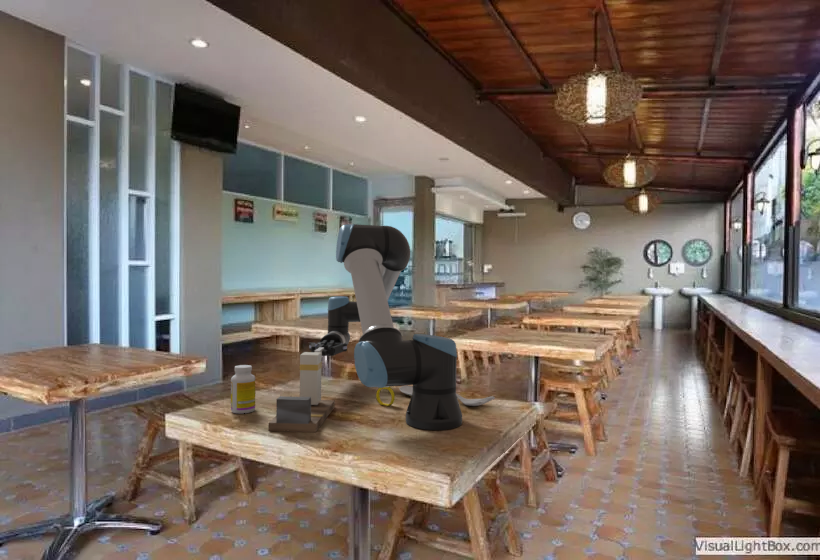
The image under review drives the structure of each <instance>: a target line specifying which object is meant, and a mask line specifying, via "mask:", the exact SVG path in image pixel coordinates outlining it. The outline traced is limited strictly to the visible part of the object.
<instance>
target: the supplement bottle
mask: <svg viewBox="0 0 820 560" xmlns="http://www.w3.org/2000/svg"><path fill="white" fill-rule="evenodd" d="M252 371H253V367H252V365H250V364H249V365H248V364H239V365H235V366H234V375H232V377H230V411H231V412H232V413H233V414H237V415H239V414H240V415H241V414H243V415H244V413H245V414H250V413H253V412H254V411H255V410H256V376H255V375H254V374H252Z"/></svg>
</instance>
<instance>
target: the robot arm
mask: <svg viewBox="0 0 820 560" xmlns="http://www.w3.org/2000/svg"><path fill="white" fill-rule="evenodd" d="M336 240H337V241H336V249H335V260H336V261H337V262H338V263H340V264H343V266H344V268H345V270H346V271H347V273H349V274H350V276H351V280H352V285H353V291H354V296H355V301H350V298H349V297H348V296H341V295H339V296H337V295H336V296H330V297H329V298H328V303H327V304H328V305H327V334H325V335H324V336H322V338H321V339H320V341H319V342H312V341H311V342H309V344H308V345H309V346H308V348H309V352H322V358H324V357H327V356H329V357H331V356H332V357H333V356H336V355H338V354H341V353H343V352H347V351H348V345H349V342H350V341H351V335H350V333H349V326H350V325H349V323H360V326H361V331H362V335H360V337H359V338H358V342H357V343H355V346H354V349H353V359H354V367H355V372H356V374H357V377H358V379H359V381H360V382H361V384H362V385H364V386H365V387H367V388H378V389H379V388H383V387H389V386H390V387H402V386H413V393H412V396H410V400H409V402H408V405H407V409H406V412H405V423H406V424H407V425H408V426H409V427H412V428H416V429H420V430H429V431H444V430H445V431H446V430H451V429H456V428H458V427H461V426H462V424H463V412H462V409H461V405H460V402H459V399H458V398H457V396H456V394H457V358H458V354H457V353H458V351H457V343H456V341H455V340H453V338H449V337H444V336H440V335H439V336H438V335H431V334H424V333H423V334H422V333H414V334H413V336H412V339H411V340H410V339H409V340H407V339H405V340H404V339H403V336H402V332H401V331H400V330H399V329H398V328H396V327H395V326H394V323H393V319H392V318H393V317H392V314H391V310H390V307H389V298H390V297H391V295H392V294H391V293H392V292H393V290H394V288H395V285H396V283H397V281H398V278H399V276H400V274H401V272H402V271H403V270H405V269H406V268H407V266H408V265H409V262H410V258H411V246H410V243H409V241H408V239H407V237H406V235H405V234H404V233H403V232H402V231H401V230H400V229H397V228H396V227H394V226H392V225H373V224H372V225H371V224H358V223H357V224H355V223H352V224H351V223H350V224H343V225H341V227H339V230H338V234H337V239H336Z"/></svg>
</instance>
